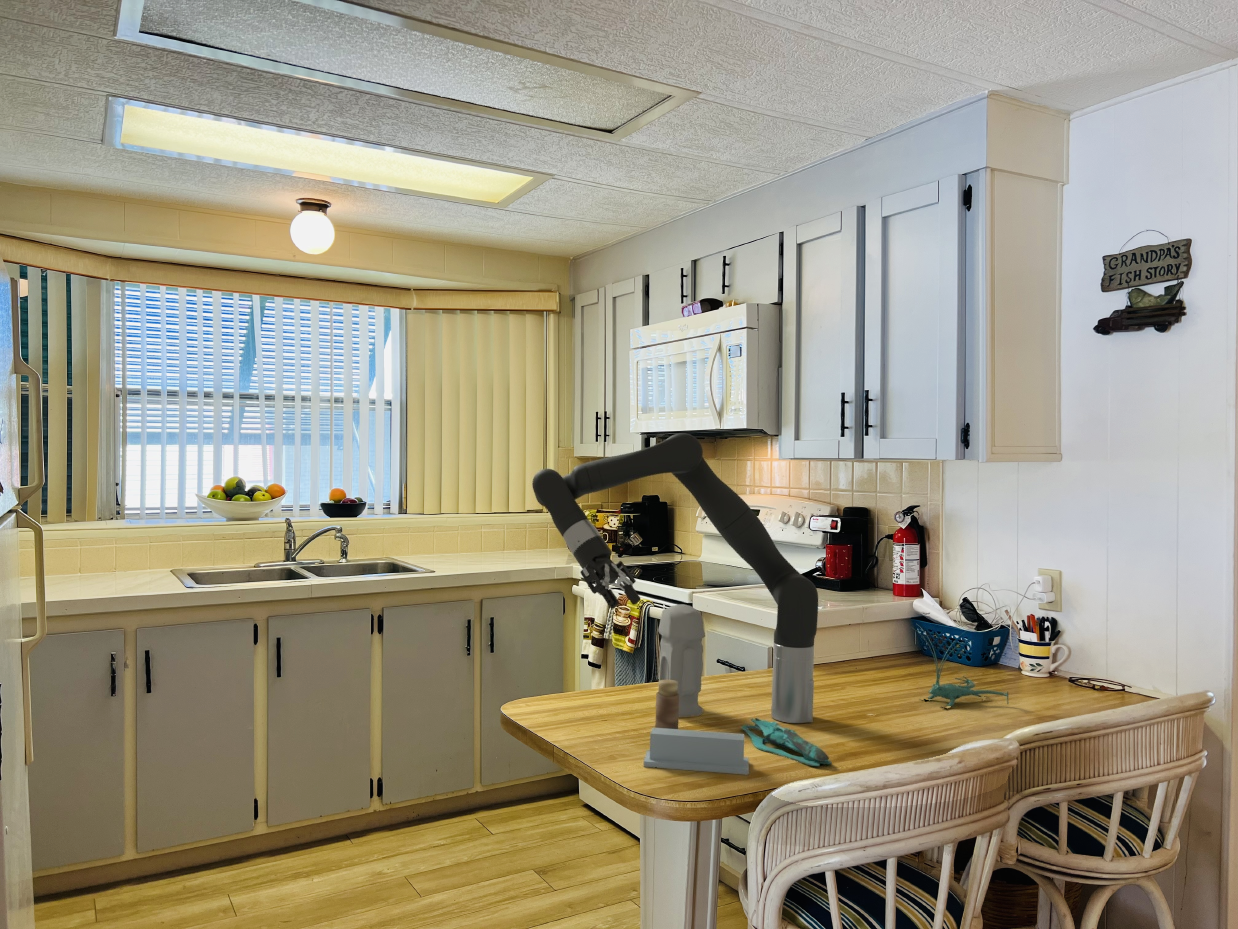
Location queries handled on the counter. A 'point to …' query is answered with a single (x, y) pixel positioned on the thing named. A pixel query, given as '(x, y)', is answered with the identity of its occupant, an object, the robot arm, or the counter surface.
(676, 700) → the pepper mill
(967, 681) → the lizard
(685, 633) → the grey moai statue
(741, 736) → the rail
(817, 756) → the toy spaceship
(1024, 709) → the counter surface
